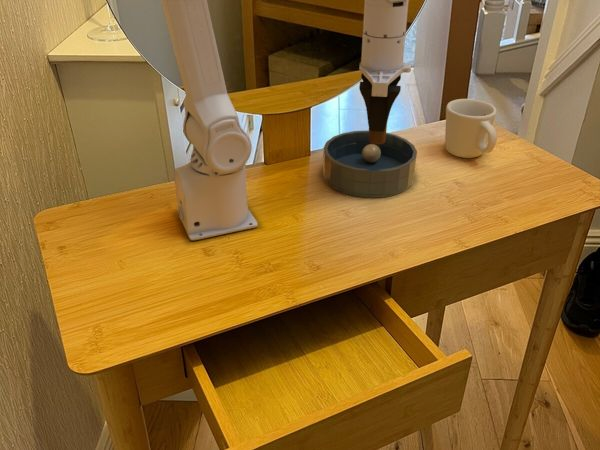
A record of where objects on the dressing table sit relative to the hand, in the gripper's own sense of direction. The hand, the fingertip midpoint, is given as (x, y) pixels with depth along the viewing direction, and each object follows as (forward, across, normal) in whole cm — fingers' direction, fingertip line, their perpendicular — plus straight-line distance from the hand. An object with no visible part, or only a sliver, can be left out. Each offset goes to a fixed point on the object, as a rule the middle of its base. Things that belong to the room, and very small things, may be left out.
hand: (377, 126), depth 91 cm
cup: (+10, +12, -16) cm, 22 cm away
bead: (+7, +6, +1) cm, 10 cm away
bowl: (+10, +2, +1) cm, 10 cm away
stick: (+2, 0, 0) cm, 2 cm away
